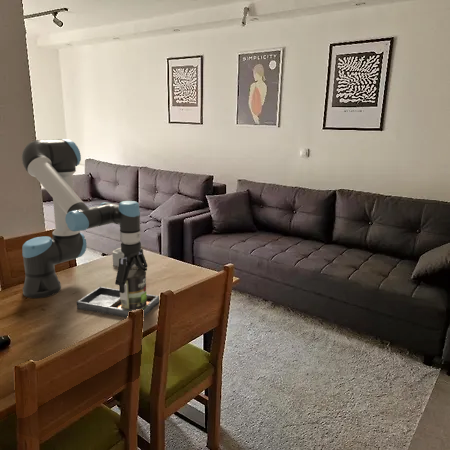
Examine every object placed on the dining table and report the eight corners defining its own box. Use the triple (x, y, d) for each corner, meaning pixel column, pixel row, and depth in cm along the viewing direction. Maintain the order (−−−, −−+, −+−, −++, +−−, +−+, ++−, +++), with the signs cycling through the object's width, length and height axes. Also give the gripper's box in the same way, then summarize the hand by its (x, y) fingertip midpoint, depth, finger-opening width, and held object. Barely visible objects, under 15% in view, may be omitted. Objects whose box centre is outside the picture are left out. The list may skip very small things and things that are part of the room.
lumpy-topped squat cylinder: (124, 259, 210) (123, 243, 208) (142, 263, 204) (142, 247, 202) (110, 265, 201) (109, 249, 199) (129, 269, 195) (128, 253, 193)
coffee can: (151, 301, 159) (150, 269, 156) (140, 313, 149) (139, 279, 146) (128, 298, 161) (126, 267, 158) (116, 309, 152) (114, 276, 148)
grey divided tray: (77, 308, 154) (76, 301, 153) (100, 292, 169) (100, 286, 168) (140, 320, 146) (140, 313, 145) (159, 302, 160) (159, 296, 160)
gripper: (121, 252, 135) (124, 307, 141) (154, 233, 158) (156, 281, 164) (103, 250, 138) (106, 304, 143) (138, 232, 161) (140, 279, 166)
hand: (133, 292), depth 154 cm, fingers open, 13 cm apart
